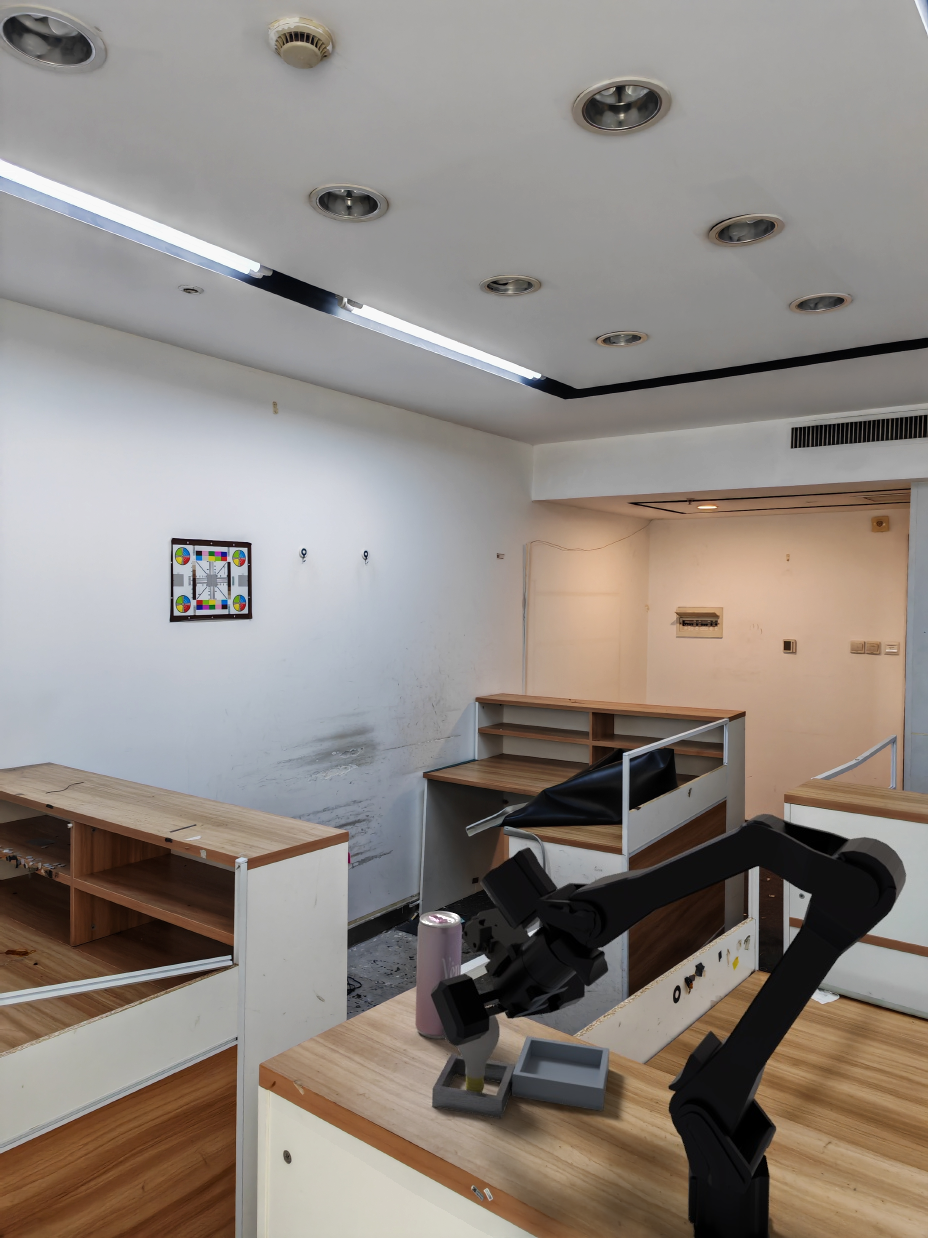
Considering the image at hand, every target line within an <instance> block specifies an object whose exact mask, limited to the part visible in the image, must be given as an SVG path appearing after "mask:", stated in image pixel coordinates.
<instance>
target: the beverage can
mask: <svg viewBox="0 0 928 1238" xmlns="http://www.w3.org/2000/svg"><path fill="white" fill-rule="evenodd" d="M461 920H462V919H461V916H460V915H458V914H456V913H453V912H450V911H443V910H437V911H436V910H435V911H429V912H424V913H423V914H421V915H420V917H419V923H418V926H417V945H416V946H417V949H416V956H417V957H416V988H415V989H416V990H415V992H416V993H415V1023H414V1024H415V1027H416V1030H417V1031H418V1033H419V1034H420V1035H421V1036H423V1037H425V1038H429V1039H435V1040H438V1039H439V1040H441V1039H445V1037H444V1035H443V1031H442V1030H443V1025H442V1023H441V1020H440V1018H439V1015H438V1012H437V1010H436V1007H435V1005H434V1002H433V1000H432V997H431V992H432V989H433V988H434V987H435V986H436V985H437V984H438V983H439V982H440V981H441V980H445V979H448V978H452V977H455V976H458V975H462V973H461V972H462V940H463V936H462V934H463V926H462V923H461Z"/></svg>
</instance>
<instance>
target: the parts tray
mask: <svg viewBox="0 0 928 1238" xmlns="http://www.w3.org/2000/svg"><path fill="white" fill-rule="evenodd" d="M523 1042H524V1043H523V1045H522V1048H521V1050H520V1054H519V1056H518V1059H517V1062H516V1064H515V1069H514V1072H513V1084H512V1090H511V1095H512V1097H518V1098H522V1099H530V1100H536V1101H542V1102H548V1103H554V1104H557V1105H558V1104H560V1105H564V1106H565V1105H566V1106H571V1107H578V1108H583V1109H589V1110H595V1111H600V1112H603V1110H604V1104H605V1103H604V1102H605V1096H606V1091H605V1090H607V1084H606V1083H608V1076H609V1071H610V1070H609V1069H610V1048H609V1047H601V1046H597V1045H596V1046H594V1045H587V1044H582V1043H574V1042H570V1041H569V1042H568V1041H562V1040H554V1039H547V1038H541V1037H534V1036H528V1035H527V1036H526V1037H525V1040H524V1041H523ZM608 1070H609V1071H608Z"/></svg>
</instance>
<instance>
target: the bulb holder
mask: <svg viewBox="0 0 928 1238" xmlns="http://www.w3.org/2000/svg"><path fill="white" fill-rule="evenodd" d="M515 1067H516V1064H515V1063H510V1062H504V1061H499V1060H498V1061H497V1060H490V1059H488V1060H487V1062H486V1065H485V1075H484V1081H490V1082H496V1083H500V1085H499V1086H498V1090H497V1092H496V1094H491V1093H484V1092H480V1093H479V1092H473V1091H468V1090H466V1089H462V1088H461V1089H460V1088H456V1087H455V1088H454V1087H450V1086H451V1085H452V1083H453V1080H454V1078H455V1076H459V1077H460V1076H461V1077H464V1078H466V1073H465V1072H466V1065H465V1061H464V1059H463V1057H462V1055H461V1054H460V1055H459V1054H454V1053H450V1056H449V1058H448V1059H447V1061H446V1062H445V1065H444V1066H443V1068H442V1070H441V1072H440V1074H439V1076H438V1078H437V1080H436V1081H435V1083H434V1085H433V1087H432V1094H431V1095H432V1097H431V1098H432V1099H431V1100H432V1101H431V1106H432V1107H433V1108H439V1109H445V1110H450V1111H456V1112H461V1113H465V1114H466V1113H467V1114H472V1115H478V1116H483V1117H491V1118H496V1119H502V1118H503V1115H504V1112H505V1109H506V1107H507V1104H508V1102H509V1099H510V1095H511V1094H512V1084H513V1072H514V1069H515Z"/></svg>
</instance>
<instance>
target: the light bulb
mask: <svg viewBox="0 0 928 1238" xmlns="http://www.w3.org/2000/svg"><path fill="white" fill-rule="evenodd" d="M485 1008H486V1007H485ZM496 1016H497V1015H495V1016H492V1017H489V1018H490V1019H489V1031H488V1032H487V1033H486V1034H484V1035H483V1036H481V1038H479V1039H477V1040H474V1041H471V1042H468V1043H465V1044H462V1045H459V1046H456V1047H457V1049H458V1051H459V1053H460V1055H461V1056H462V1057H463V1059H464V1061H465V1065H466V1072H465V1073H466V1077H465V1090H468V1091H473V1092H479V1093H483V1091H484V1087H485V1085H484V1083H485V1080H484V1075H485V1065H486V1062H487V1060H489V1059H490V1056H491V1055H492V1053H493V1052H494V1050H496V1047H497V1045H498V1042H499V1040H500V1039H499V1038H500V1028H501V1027H500V1024H499V1021H498V1018H497V1017H496Z"/></svg>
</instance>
